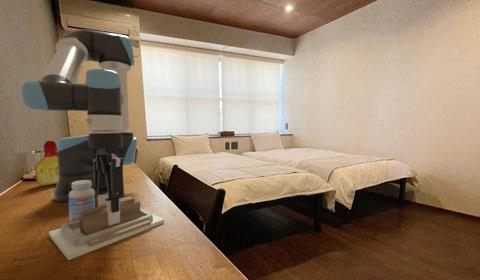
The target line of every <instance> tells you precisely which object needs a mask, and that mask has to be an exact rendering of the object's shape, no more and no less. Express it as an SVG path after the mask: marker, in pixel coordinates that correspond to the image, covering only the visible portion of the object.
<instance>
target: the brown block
mask: <svg viewBox="0 0 480 280" xmlns="http://www.w3.org/2000/svg"><path fill="white" fill-rule="evenodd" d="M119 199H120V223H117V224H114V225H111V226H108V217H107V205H103V206H99V207H98V206H95V208H91V209H88V210H84V211H80V212H79V222H80V232H81V233H83V234H84V235H85V236H87V235H90V234H93V233H96V232H99V231H102V230H105V229H108V228H111V227H114V226H117V225H120V224H122V223H125V222H128V221H131V220H134V219H137V218H140V217H141V214H140V208H141V201H139V200H137V199H135V198H134V197H132V196H130V195H129V196H124V197H121V198H119Z"/></svg>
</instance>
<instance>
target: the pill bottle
mask: <svg viewBox="0 0 480 280" xmlns="http://www.w3.org/2000/svg"><path fill="white" fill-rule="evenodd" d="M91 185H92V182H91V181H90V180H80V181H75V182H72V189H73V190H72V191H71V192H70V193H69V202H68V219H69V220H68V221H69V222H68V223H70V222H73V221H77V220H79V212H80V211H84V210H88V209H91V208H95V207H96V206H95V205H96V200H95V199H96V198H95V197H96V196H95V191H94V190H93V189H92V188H90V187H91Z"/></svg>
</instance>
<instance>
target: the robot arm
mask: <svg viewBox="0 0 480 280" xmlns="http://www.w3.org/2000/svg"><path fill="white" fill-rule="evenodd" d="M133 50H134V49H133V44H132V40H131V38H130V37H129V36H127V35H124V34H119V33H112V32H105V31H101V30H100V31H99V30H98V31H97V30H92V29H86V28H85V29H77V30H73V31H69V32H68V33H65V34H64V35H62V36H61V37H60V38H59V39H58V40H57V42H56V44H55V51H56V52H55V54H54V56H53V57H52V60H51V62H50V64H49V65H48V67H47V69H46V71H45V72H44V75H43V77H42V78H41V80H38V79H36V80H27V81H24V82H23V84H22V85H21V96H22V99H23V102H24V104H25V106H26V107H27V108H28V109H31V110H37V111H38V110H39V111H41V110H42V111H47V112H48V111H78V112H79V111H80V112H86V114H87V118H86V119H85V123H87V129H88V131H89V132H91V133H89V134H84V135H76V136H75V135H74V136H68V137H61V138H60V139H58V141H57V142H56V146H57V155H58V170H59V180H58V183H57V184H56V187H55V189H54V192H53V200H54V201H55V202H63V203H65V202H67V203H69V193H70V192H71V191H72V190H73V189H72V182H75V181H80V180H90V181H91V182H92V185H91V187H90V188H92V189H93V190H94V191H95V197H97V203H98V204H97V207H99V206H103V205H107V217H108V226H111V225H114V224H117V223H120V199H121V198H125V192H124V191H125V190H124V189H125V186H124V170H123V169H124V167H123V166H129V165H132V164H134V163H135V159H136V152H137V142H138V137H137V136H134V132H133V131H132V130H131V129H130V122H129V121H130V117H129V95H128V94H129V92H128V91H129V89H128V73H129V72H130V71H131V69H132V67H131V66H135V58H134V52H133ZM87 61H89V62H95V63H96V62H97V63H98V67H99V68H91V69H88V70H86V71H85V82H84V83H78V79H79V77H80V76H79V75H80V73H81V70H82V66H83V64H84V63H86V62H87Z"/></svg>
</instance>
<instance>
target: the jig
mask: <svg viewBox="0 0 480 280" xmlns="http://www.w3.org/2000/svg"><path fill="white" fill-rule="evenodd" d="M140 214H141V217H140V218H137V219H134V220H131V221H128V222H125V223H122V224H120V225H117V226H114V227H111V228H108V229H105V230H102V231H99V232H96V233H93V234H90V235H87V236H85V235H84V234H83V233H81V232H80V222H79V220H77V221H73V222H66V223H64V224H63V223H62V225H61V226H60V228H57V229H54V230H50V231H48V236H49V237H50V239H51V240H52V241H53V242H54V244H55V246H56V247H58V249H59V251H61V253H62V254H63V256H65V258H66V259H67V260H68V261H70V260H73V259H75V258H78V257H81V256H83V255H85V254H88V253H90V252H93V251H96V250H98V249H100V248H103V247H106V246H108V245H111V244H113V243H115V242H116V243H117V242H119V241H122V240H123V239H126V238H129V237H131V236H134V235H136V234H137V235H138V234H139V233H142V232H143V231H146V230H149V229H152V228H155V227H156V226H160V225H162V224H165V218H163V217H161V216H158V215H157V214H154V213H152V212H150V211H148V210H146V209H145V208H142V207H140Z"/></svg>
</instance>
